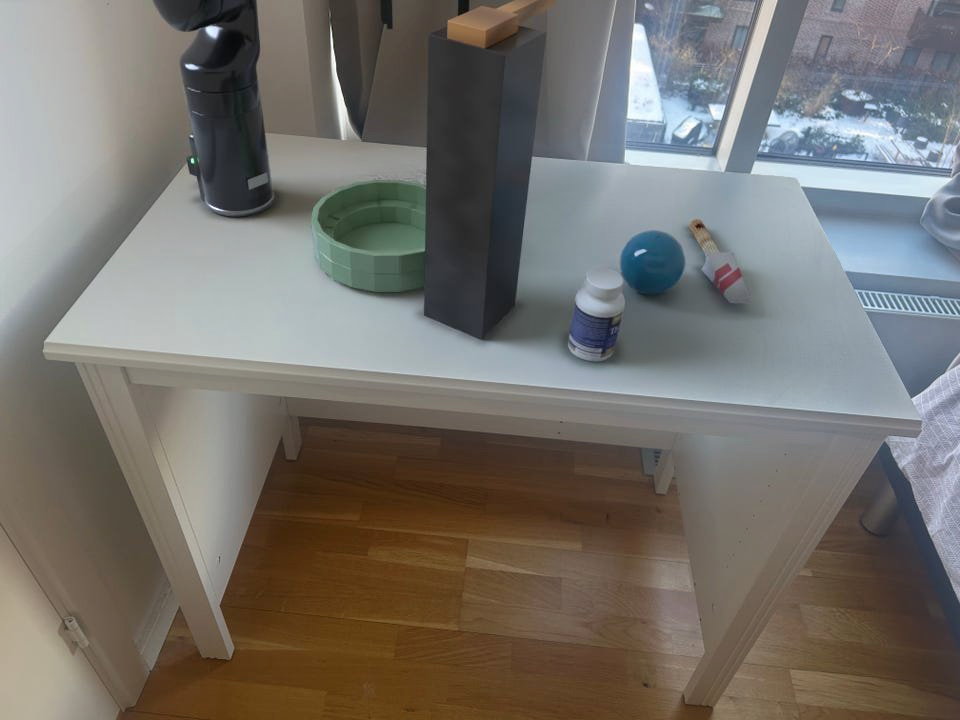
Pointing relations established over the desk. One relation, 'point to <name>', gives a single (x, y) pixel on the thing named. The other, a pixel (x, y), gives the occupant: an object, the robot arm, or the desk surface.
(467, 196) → the pedestal
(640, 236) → the ball
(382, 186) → the bowl
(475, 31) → the wooden spatula
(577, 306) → the pill bottle
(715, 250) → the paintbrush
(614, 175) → the desk surface
